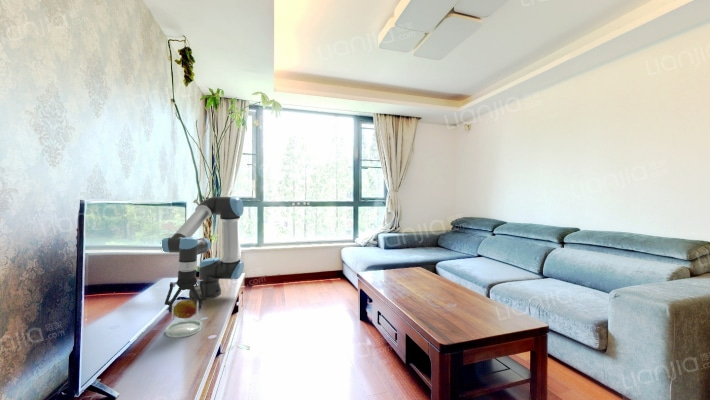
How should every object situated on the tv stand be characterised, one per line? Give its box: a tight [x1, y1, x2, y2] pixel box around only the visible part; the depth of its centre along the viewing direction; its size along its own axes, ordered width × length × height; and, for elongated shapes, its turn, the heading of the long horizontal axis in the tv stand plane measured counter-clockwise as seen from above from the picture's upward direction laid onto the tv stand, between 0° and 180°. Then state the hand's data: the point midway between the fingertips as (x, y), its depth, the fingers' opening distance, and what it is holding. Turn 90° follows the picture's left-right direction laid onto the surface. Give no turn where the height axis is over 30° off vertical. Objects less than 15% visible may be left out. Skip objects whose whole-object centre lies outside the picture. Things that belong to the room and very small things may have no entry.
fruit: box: [174, 299, 197, 319], centre depth 134 cm, size 10×9×8 cm
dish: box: [165, 319, 203, 339], centre depth 134 cm, size 15×15×2 cm
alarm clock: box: [188, 283, 204, 306], centre depth 163 cm, size 11×5×16 cm, turn 47°
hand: (184, 316), depth 134 cm, fingers closed on fruit, 9 cm apart
